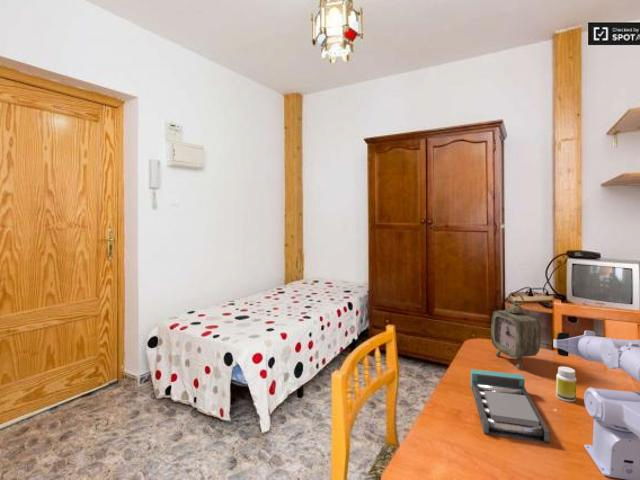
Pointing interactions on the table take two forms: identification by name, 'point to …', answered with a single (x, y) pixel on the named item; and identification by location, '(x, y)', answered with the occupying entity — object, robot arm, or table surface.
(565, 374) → the supplement bottle
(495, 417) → the slab
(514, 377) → the end stop
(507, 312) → the tabletop clock
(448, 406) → the table surface
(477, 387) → the roller bed
